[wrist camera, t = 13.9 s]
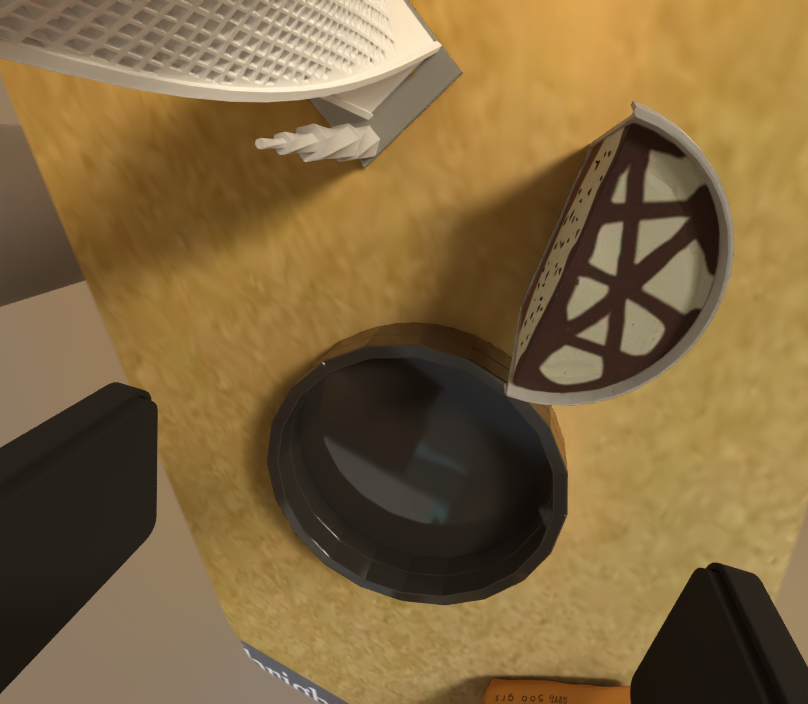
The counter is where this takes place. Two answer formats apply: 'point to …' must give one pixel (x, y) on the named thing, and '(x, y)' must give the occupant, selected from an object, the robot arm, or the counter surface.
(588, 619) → the counter surface
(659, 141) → the food container
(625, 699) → the coffee package
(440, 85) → the skyscraper
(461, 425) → the bowl
